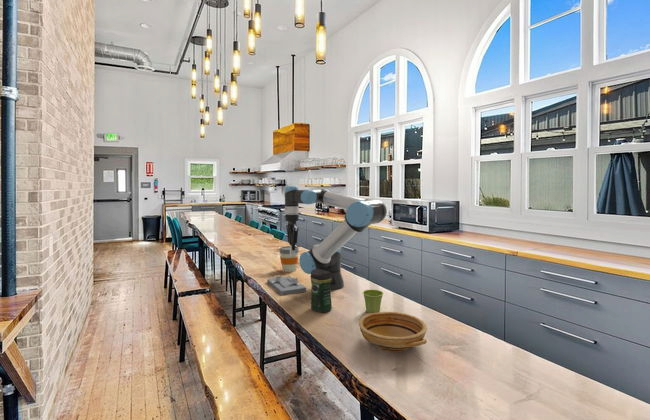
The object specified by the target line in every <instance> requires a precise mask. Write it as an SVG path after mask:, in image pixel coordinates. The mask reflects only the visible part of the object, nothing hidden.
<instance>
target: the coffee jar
mask: <svg viewBox="0 0 650 420" xmlns="http://www.w3.org/2000/svg"><path fill="white" fill-rule="evenodd" d="M310 283H311V297H310V298H311V299H310V308H311V310H313V311H315V312H318V313H328V312H330V311H331V310H332V295H331V294H332V293H331V291H332V289H330V284H331V273H330V272H329V271H324V270H321V269H315V270H312V272H311V274H310Z"/></svg>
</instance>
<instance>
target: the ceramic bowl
mask: <svg viewBox="0 0 650 420" xmlns="http://www.w3.org/2000/svg"><path fill="white" fill-rule="evenodd" d="M358 327H359V330H360V333H361V335H362V337H363V338H364V339H365V340H366V342H368V343H369V344H371V345H373V346H375V347H377V348H379V350H381V351H384V352H388V353H401V352H404V351H406V350H408V349H411V348H412V349H413V348H414V347H420V346H422V345H426V343H427V342H428V341H427V339H426V338H425V335H426V333H427V330H428V326H427V324H426V323H425V321H424V320H422V319H420V318H419V317H416V316H415V315H411V314H407V313H402V312H398V311H397V312H396V311H395V312H394V311H380V312H377V313H365V314H364V315H362V317H361V318H360V319H359V321H358Z"/></svg>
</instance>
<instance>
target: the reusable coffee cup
mask: <svg viewBox="0 0 650 420" xmlns="http://www.w3.org/2000/svg"><path fill="white" fill-rule="evenodd" d="M279 254H280V255H279V257H280V259H279V260H280V263H281V267H282V271H283V272H284V271H285V272H284V273H292V271H294V272H296V271H297V267H298V266H297V265H298V263H299V247H298V246H295V256H290V245H289V246H288V245H287V246H281V247H280V248H279Z"/></svg>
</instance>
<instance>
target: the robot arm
mask: <svg viewBox="0 0 650 420" xmlns="http://www.w3.org/2000/svg"><path fill="white" fill-rule="evenodd" d="M319 203H320V204H322V205H323V204H324V205H327V206H331V207H334V208H339V209H342V210H346V211H345V212H346V213H345V215H344V219H343V221H342V222H340V224H339V225H337V227H336V228H334V229H333V230H332V232H331V233H329V234H328V235H327V237H326V238H324V239H323V240H322V241H321V242H320V243H317V244H314V245H313V246H312V247H311V248H310V249H309V250H307V251H304V252H302V253H301V254H300V256H299V257H298V263H299V267H300V269H301V270H302V271H303V273H305V274H308V275H311V272H312V270H315V269H321V270H324V271H329V272H330V273H331V284H330V289H331V290H338V289H342V288H343V287H344V286H345V281H344V278H343V275H342V272H341V271H342V269H341V268H342V267H341V266H342V265H341V264H342V263H341V262H342V260H341V259H342V256H341V255H342V253H341V248H342V247H343V246H344V245H346V243H347V242H348V241H349V240H350V239H352V238H353V236H355V235H356V234H357V233H359V234H360V233H363V232H364V231H365V230H366V229H367V228H368V227H369V226H370V225H375V224H379V223H381V222H382V221H384V220H385V218H386V216H387V206H386V205H385V203H384V202H383V201H381V200H379V199H375V198H374V199H373V198H368V197H367V198H360V197H355V196H351V195H347V194H342V193H339V192H334V191H330V190H329V189H328V188H327V189H326V188H319V189H300V188H299V187H298V186H297V185H290V186H289V185H287V186H285V187H284V209H283V210H284V211H285V212H284V213H285V215H284V220H285V221H286V222H287V225H285V228H286V235H287V242H288V244H289V246H290V256H295V247H296V244H298V234H299V228H300V227H298V226H297V222H299V220H300V218H299V217H300V215H299V213H300V211H299V210H300V209H299V204H300V205H301V204H302V205H314V204H319Z"/></svg>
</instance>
